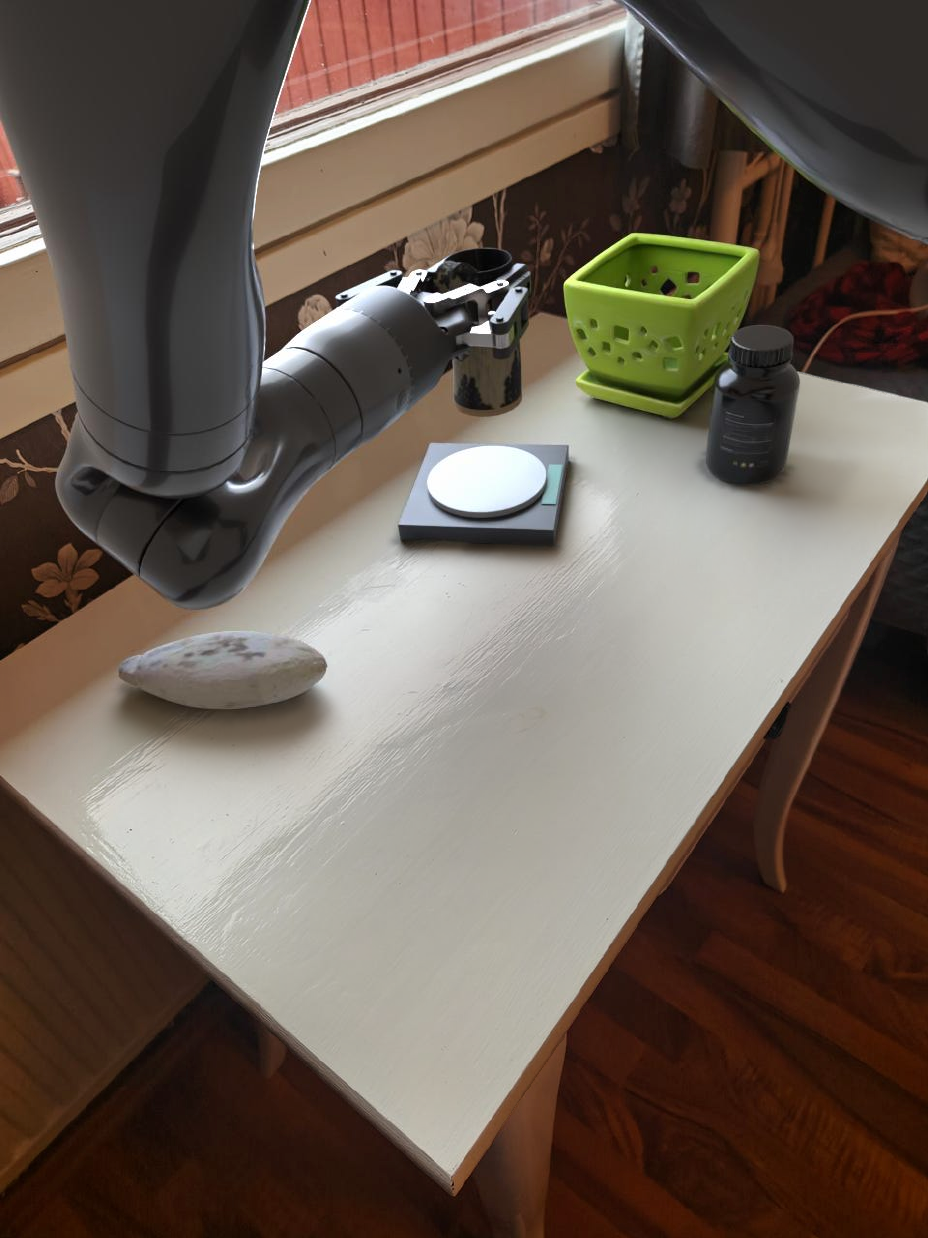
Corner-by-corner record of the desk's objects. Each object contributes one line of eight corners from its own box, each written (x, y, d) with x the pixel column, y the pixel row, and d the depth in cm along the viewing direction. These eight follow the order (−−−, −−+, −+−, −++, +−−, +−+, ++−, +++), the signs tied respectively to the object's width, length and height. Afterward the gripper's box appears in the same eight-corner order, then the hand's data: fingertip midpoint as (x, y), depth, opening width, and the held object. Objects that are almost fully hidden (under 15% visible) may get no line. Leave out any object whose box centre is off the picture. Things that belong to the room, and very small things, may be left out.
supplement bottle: (709, 442, 80) (723, 316, 72) (787, 449, 78) (810, 319, 70) (699, 483, 75) (713, 353, 67) (782, 491, 73) (807, 358, 65)
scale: (568, 459, 80) (568, 438, 78) (554, 546, 70) (553, 524, 69) (432, 457, 82) (429, 436, 81) (400, 540, 73) (396, 518, 71)
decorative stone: (140, 656, 65) (124, 623, 63) (341, 652, 63) (332, 618, 61) (111, 718, 61) (92, 685, 58) (325, 715, 59) (315, 680, 57)
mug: (476, 378, 72) (464, 228, 64) (535, 389, 70) (530, 235, 62) (425, 422, 67) (405, 266, 59) (486, 435, 65) (474, 275, 57)
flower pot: (628, 348, 95) (632, 228, 87) (749, 374, 88) (767, 247, 80) (559, 403, 87) (557, 278, 79) (686, 437, 81) (699, 304, 72)
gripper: (451, 328, 48) (578, 228, 58) (255, 297, 54) (403, 211, 65) (462, 446, 53) (578, 334, 63) (282, 406, 59) (415, 310, 70)
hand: (489, 273), depth 64 cm, fingers closed on mug, 5 cm apart
